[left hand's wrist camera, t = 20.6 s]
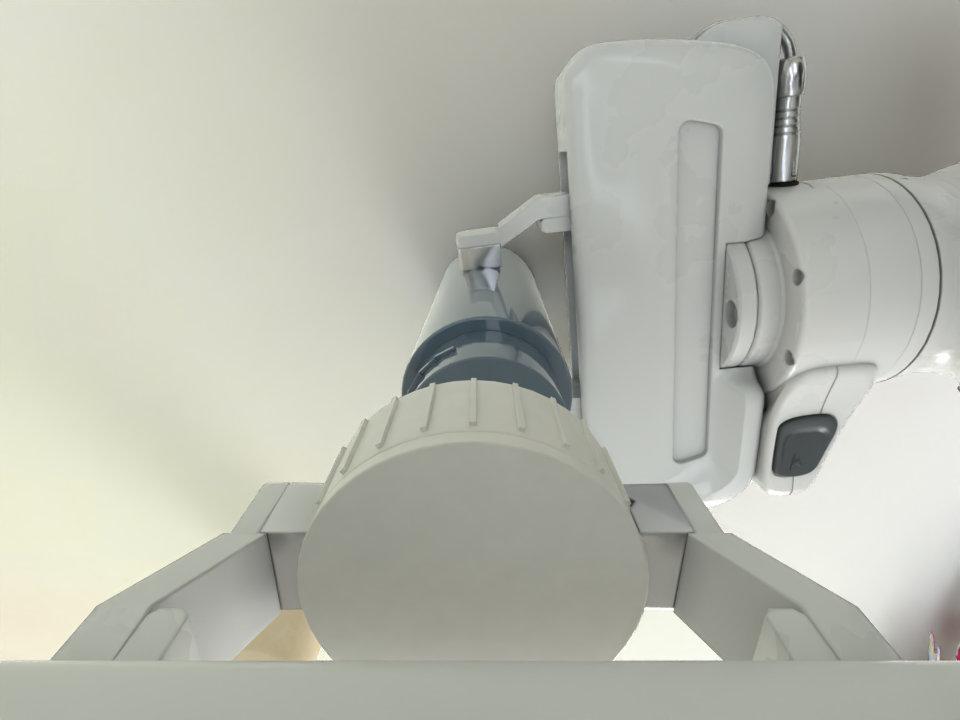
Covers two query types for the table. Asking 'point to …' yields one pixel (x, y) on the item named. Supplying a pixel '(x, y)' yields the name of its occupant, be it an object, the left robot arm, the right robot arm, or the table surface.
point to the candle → (283, 640)
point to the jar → (490, 333)
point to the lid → (473, 535)
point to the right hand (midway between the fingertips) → (468, 325)
